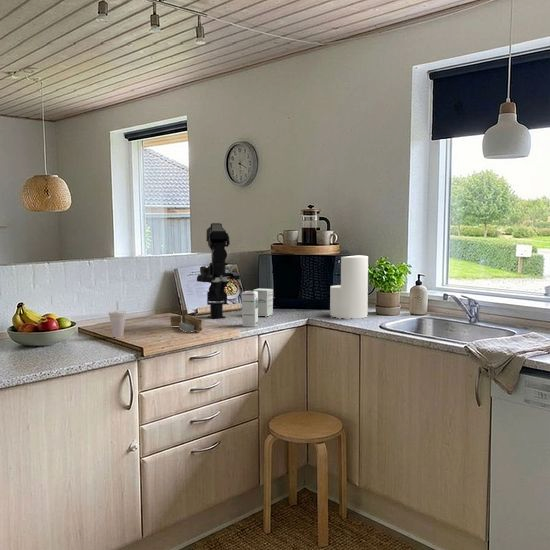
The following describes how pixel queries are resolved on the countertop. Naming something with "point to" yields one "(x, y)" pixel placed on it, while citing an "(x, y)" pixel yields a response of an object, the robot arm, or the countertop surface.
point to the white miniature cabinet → (250, 308)
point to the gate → (194, 322)
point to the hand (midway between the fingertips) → (219, 297)
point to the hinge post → (178, 318)
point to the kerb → (186, 326)
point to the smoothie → (117, 322)
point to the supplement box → (265, 302)
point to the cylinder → (351, 289)
